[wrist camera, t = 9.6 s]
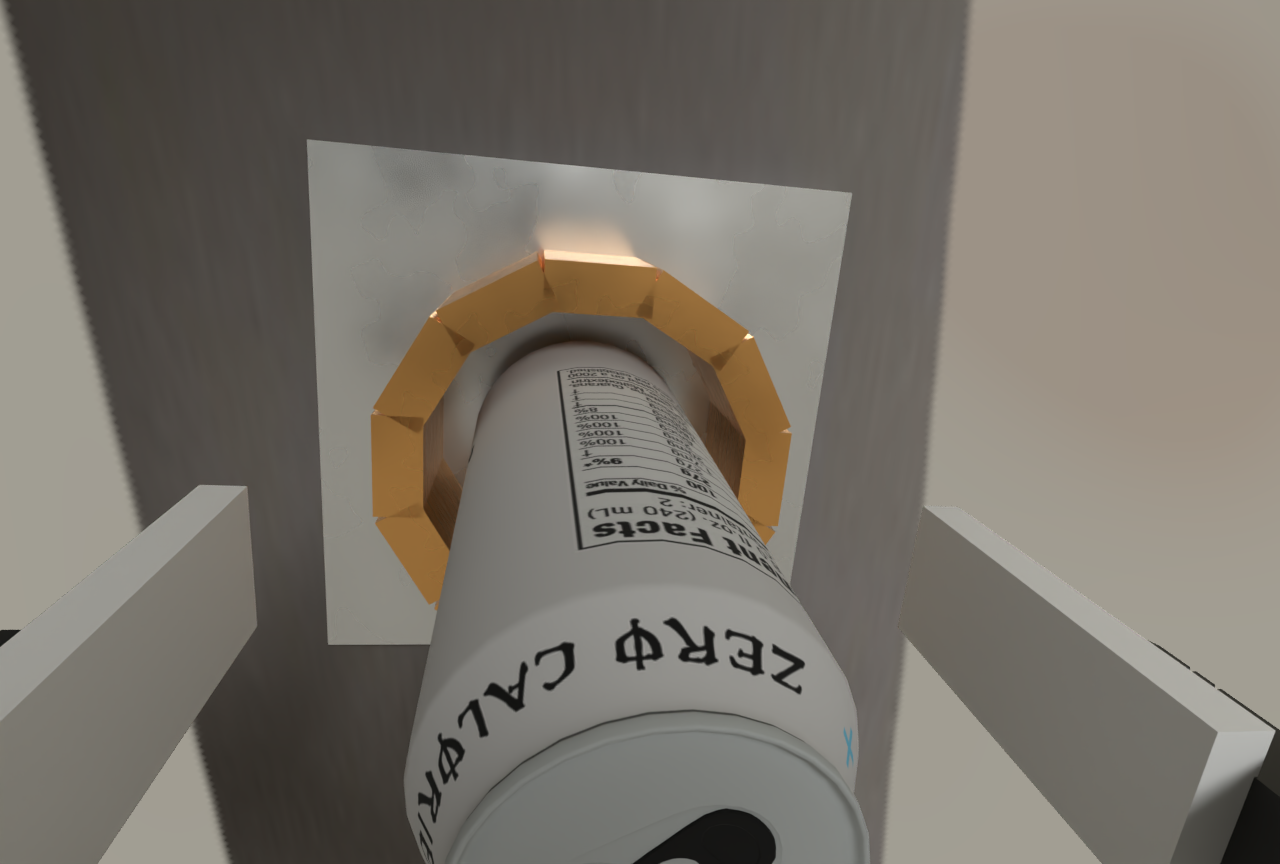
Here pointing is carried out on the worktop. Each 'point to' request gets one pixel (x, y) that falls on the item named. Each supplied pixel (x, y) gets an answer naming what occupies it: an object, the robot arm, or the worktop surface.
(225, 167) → the worktop surface
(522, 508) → the energy drink can
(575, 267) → the keeper
